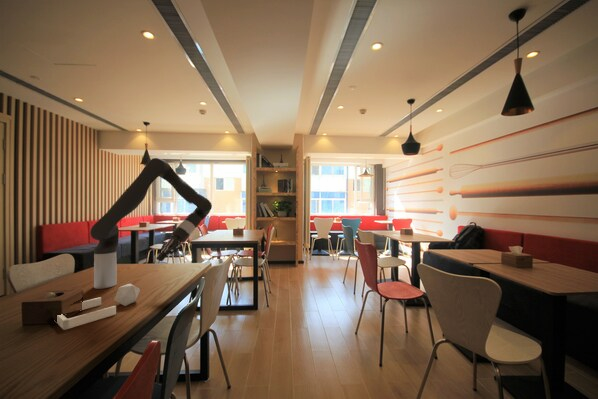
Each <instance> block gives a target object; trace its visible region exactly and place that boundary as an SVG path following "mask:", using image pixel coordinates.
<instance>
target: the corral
mask: <svg viewBox="0 0 598 399" xmlns="http://www.w3.org/2000/svg"><path fill="white" fill-rule="evenodd" d="M81 302H82V301H81ZM98 306H102V297H101V296H99V297H96V298H91V299H87V300H83V302H82V310H81V311H83V310H88V309H91V308H95V307H98ZM116 314H117V306H116V305H112V306H109V307H105V308H101V309H98V310H94V311H91V312H87V313H84V314H81V315H80V314H79V315H77V316H73V317H69V318H67V317H66V315H63V314H61V315H57V322H56V321H55V323H56V324H58V326H59V327H60V328H61V329H62V330H63V331H65V330H68V329H72V328H75V327H78V326H82V325H85V324H88V323H89V324H90V323H92V322H94V321H98V320H102V319H105V318H109V317H111V316H114V315H116Z"/></svg>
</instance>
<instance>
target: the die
mask: <svg viewBox="0 0 598 399" xmlns="http://www.w3.org/2000/svg"><path fill="white" fill-rule="evenodd" d="M140 291H141V289H140V288H139V287H137V286H135V285H133V284H132V283H126V284H124V285H122V286H119V287H118V289H117V292H116V294H115V295H114V298H113V300H114V301H115V302H117V303H119V304H121V305H122V306H125V307H127V306H128V305H131V304H133V303H135V302H136V301H137V298H138V296H139V293H140Z"/></svg>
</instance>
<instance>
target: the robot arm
mask: <svg viewBox="0 0 598 399" xmlns="http://www.w3.org/2000/svg"><path fill="white" fill-rule="evenodd" d="M157 178H161V179H163V180H165V181H166V182H167V183H168V184H170V185H171V187H172V188H173V189H174V190H175V192H176V193H177V194H178V195H179V196H180V197H181V198H183V200H185V201H186V202H187V203H188V204H190V205H191V204H192V205H194V206H196V208H195V209H194V210H193V211H192V212H191V213H189V214H188V215H187V216H186V217H185V219H184V220H182V222H181V223H179V225H178V226H176V228H175V229H174V230H173V231H172V232H171V238H169V240H167V241H166V240H164V241H163V243H162V245H161V247H160V251H161V252H160V253H159V255H157V257H155V258H156V260H157V261H159V262H163V261H164V260H165V259H166V258H167V256H169V255H173V254H174V253H175V252H177V251H178V250H179V249H181V248H182V245H181V244H184V243H185V242H186V241H187V240H188V239H189V238H190V236H191V235H192V234H193V233H194V231H195V230H196V229H197V227H198V226H199V225H200V224H201V223H202V221H203V220H204V219H206V217H207V216H208V215H209V213H210V212H211V210H212V208H213V206H212V202H211V201H210V200H209V199H208V198H206V197H205V196H204V195H202V194H200V193H198V192H197V191H196V190H195V189H194V188H193V187H192V186H191V185H190V184H188V183H187V182H186V181H184V180H183V179H182V178H181V177H180V175H178V174H177V173H176V171H175V170H174V168H172V167H171V165H170V164H169V162H168V161H167V160H164V159H161V158H160V157H159V158H158V157H154V158H152V159H149V160H148V161H147V163H146V165H145V166H144V167H143V169H142V170H141V172H140V173H139V175H138V176H137V177H136V178H135V179H134V180H133V182H132V183H131V184H130V185H129V186H128V187H127V188H126V189H125V190H124V191H123V192H122V194H121V195H120V196H119V197H118V199H117V200H116V201H115V202H114V203H113V205H111V207H110V208H109V209H108V211H107V212H106V213H105V214H104V215H102V216H101V218H100V219H98V221H96V222H95V223H94V224H93V225H92V226H91V228H90V231H89V232H90V233H89V234H90V237H91V238H92V239H93V240H95V241H98V244H97V245H96V246H95V247H94V249H93V260H94V261H93V266H94V267H93V276H94V277H93V288H94V289H97V290H98V289H99V290H100V289H107V288H112V287H115V286H116V285H117V249H118V247H119V239H120V238H119V236H120V234H119V233H120V230H119V226H118V224H119V222H120V221H121V220H122V219H124V218H126V217H127V216H128V215H129V214H131V213H132V212H134V211H135V210H136V209H137V208H138V207H139V206H140V204H141V203H143V201H144V199H145V197H146V196H147V193H148V190H149V188H150V186H151V185H152V184H153V182H155V180H156V179H157Z"/></svg>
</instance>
